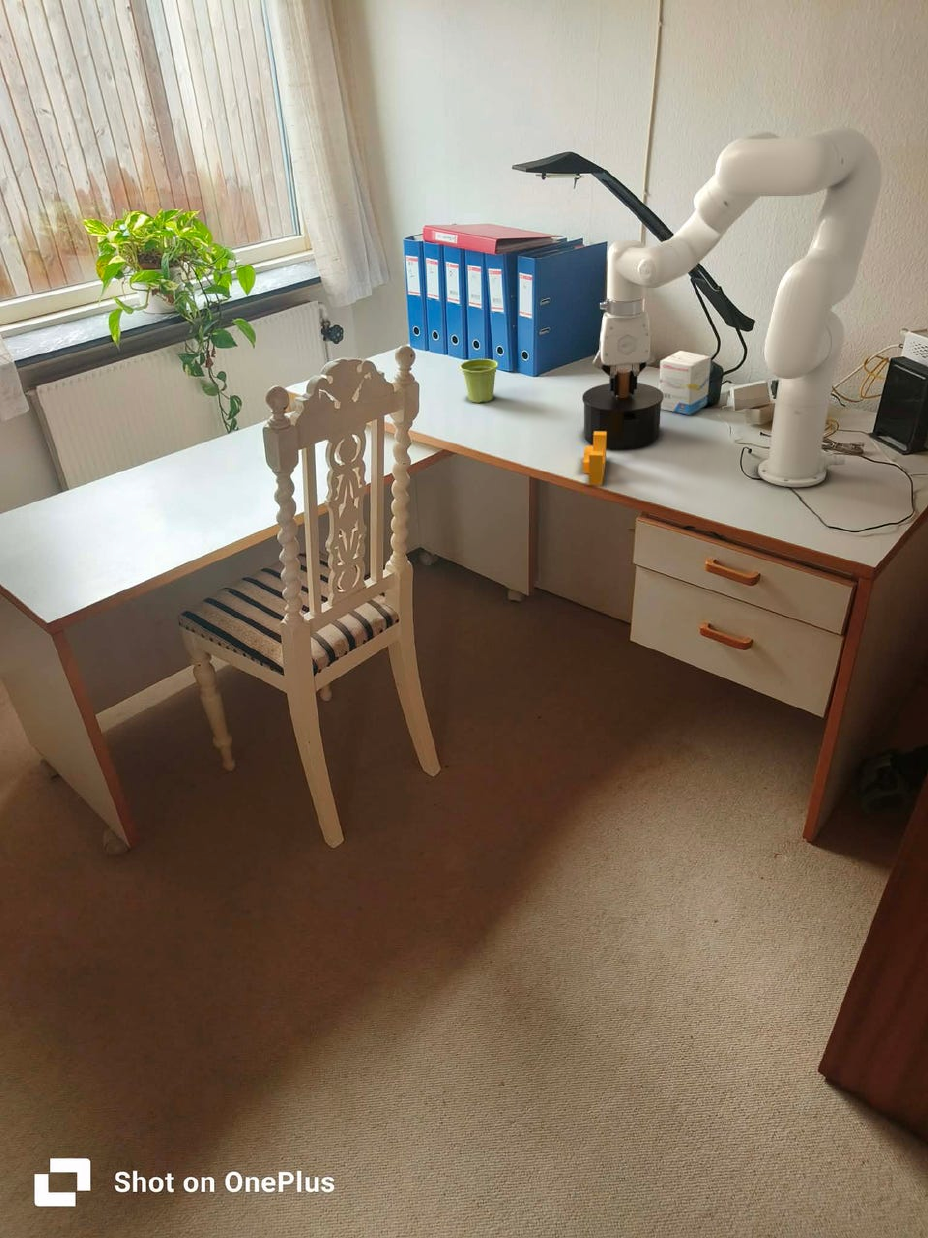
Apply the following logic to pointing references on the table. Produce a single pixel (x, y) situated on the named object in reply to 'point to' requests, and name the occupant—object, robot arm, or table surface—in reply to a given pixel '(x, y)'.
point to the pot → (623, 427)
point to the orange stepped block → (595, 458)
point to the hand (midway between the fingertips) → (622, 392)
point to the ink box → (684, 382)
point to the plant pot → (479, 378)
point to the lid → (623, 396)
